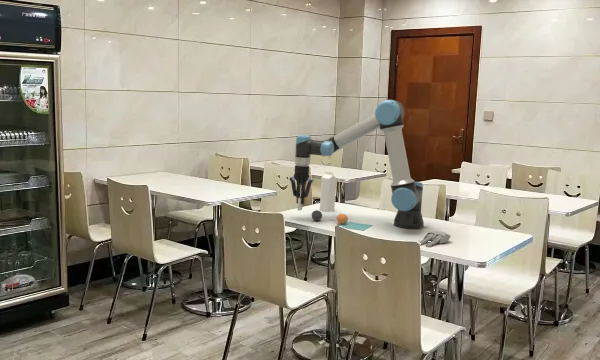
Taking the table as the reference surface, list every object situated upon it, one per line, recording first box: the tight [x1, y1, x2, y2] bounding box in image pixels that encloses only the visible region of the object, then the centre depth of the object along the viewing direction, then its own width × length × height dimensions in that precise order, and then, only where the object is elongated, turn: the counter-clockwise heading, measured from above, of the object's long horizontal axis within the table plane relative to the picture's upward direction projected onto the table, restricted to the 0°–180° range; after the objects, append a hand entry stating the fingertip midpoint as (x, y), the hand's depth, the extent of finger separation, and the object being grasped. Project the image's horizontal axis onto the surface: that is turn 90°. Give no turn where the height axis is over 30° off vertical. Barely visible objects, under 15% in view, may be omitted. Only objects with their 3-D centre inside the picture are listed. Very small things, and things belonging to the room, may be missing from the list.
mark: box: [339, 221, 373, 231], centre depth 296 cm, size 14×14×1 cm
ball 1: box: [311, 209, 323, 222], centre depth 305 cm, size 6×6×6 cm
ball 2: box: [336, 213, 349, 225], centre depth 299 cm, size 6×6×6 cm
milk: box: [319, 171, 337, 213], centre depth 332 cm, size 6×6×22 cm
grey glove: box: [419, 229, 451, 248], centre depth 268 cm, size 10×20×5 cm, turn 139°
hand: (299, 209), depth 308 cm, fingers closed
